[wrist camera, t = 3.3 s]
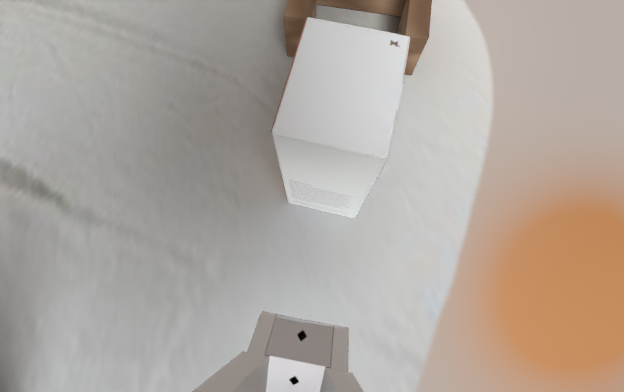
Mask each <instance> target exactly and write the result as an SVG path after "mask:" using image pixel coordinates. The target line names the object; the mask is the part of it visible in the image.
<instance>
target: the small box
mask: <svg viewBox="0 0 624 392" xmlns="http://www.w3.org/2000/svg"><path fill="white" fill-rule="evenodd" d="M409 43H410V37H409V36H404V35H400V34H395V33H391V32H386V31H381V30H376V29H371V28H366V27H360V26H355V25H349V24H344V23H338V22H333V21H328V20H322V19H316V18H311V17H307V19H306V21H305V24H304V27H303V30H302V33H301V36H300V40H299V43H298V46H297V49H296V53H295V56H294V59H293V62H292V65H291V69H290V72H289V75H288V78H287V81H286V84H285V88H284V91H283V94H282V97H281V101H280V104H279V107H278V111H277V114H276V117H275V120H274V123H273V127H272V130H271V133H272V137H273V141H274V145H275V149H276V154H277V158H278V162H279V166H280V170H281V175H282V179H283V183H284V187H285V192H286V196H287V200H288V203H291V204H296V205H300V206H304V207H308V208H313V209H317V210H321V211H325V212H330V213H334V214H338V215H342V216H346V217H351V218H356V216H357V214H358V212H359V210H360V208H361V206H362V205H363V203H364V201H365V199H366V198H367V196H368V194H369V192H370V190H371V188H372V186H373V185H374V183H375V181H376V179H377V177H378V175H379V174H380V172H381V170H382V168H383V166H384V164H385V162H386V161H387V159H388V156H389V152H390V148H391V143H392V138H393V133H394V128H395V123H396V118H397V113H398V108H399V104H400V99H401V95H402V90H403V84H404V75H405V67H406V61H407V56H408V50H409Z"/></svg>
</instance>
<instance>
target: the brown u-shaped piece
mask: <svg viewBox="0 0 624 392" xmlns="http://www.w3.org/2000/svg"><path fill="white" fill-rule="evenodd" d="M316 4H318V5H325V6H331V7H338V8H345V9H352V10H358V11H365V12H372V13H379V14H385V15H392V16H399V17H401V18H400V21H399V24H398V28H397V34H400V35H404V36H409V37H410V43H409V50H408V56H407V61H406V67H405V74H406V75H412V73H413V71H414V68H415V66H416V64H417V62H418V60H419V57H420V55H421V53H422V51H423V49H424V47H425V44H426V42H427V40H428V38H429V27H430V16H431V4H432V0H288V2H287V5H286V9H285V13H284V24H285V36H286V47H287V56H291V57H294V56H295V53H296V49H297V46H298V43H299V40H300V36H301V33H302V30H303V27H304V24H305V21H306V19H307V17H311V18H316Z"/></svg>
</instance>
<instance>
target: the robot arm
mask: <svg viewBox="0 0 624 392" xmlns="http://www.w3.org/2000/svg"><path fill="white" fill-rule="evenodd" d="M348 352H349V329H348V328H347V327H341V326H336V325H331V324H326V323H320V322H315V321H309V320H302V319H297V318H293V317H288V316H284V315H279V314H274V313H269V312H264V311H262V313H261V314H260V317H259V320H258V323H257V326H256V328H255V331H254V334H253V337H252V340H251V343H250V346H249V349H248V351H247V352H245V351H243V352H241V353H240V354H239V355H238V356H236V357H235V358H234V359H233V360H231V361H230V362H229V363H228V364H226V365H225V366H224V367H223V368H221V369H220V370H219V371H218V372H216V373H215V374H214V375H213V376H211V377H210V378H209V379H208V380H206V381H205V382H204V383H203V384H201V385H200V386H199V387H197V388H196V389H195V390H194V391H192V392H363V390H362V388H361V387H360V385H359V383H358V382H357V380H356V378H355V376H354V375H353V373H350V372H348Z"/></svg>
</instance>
